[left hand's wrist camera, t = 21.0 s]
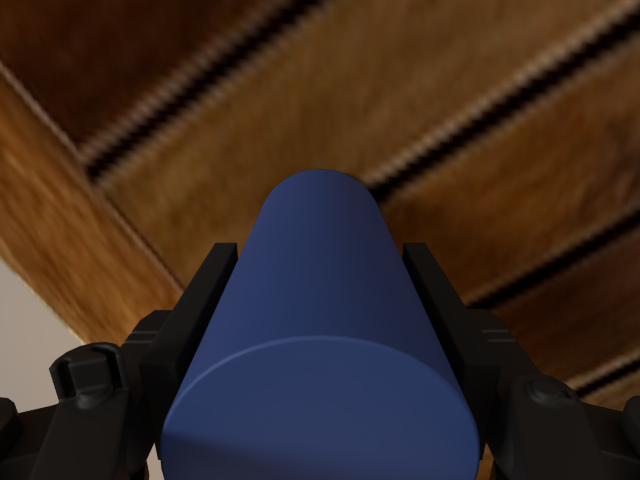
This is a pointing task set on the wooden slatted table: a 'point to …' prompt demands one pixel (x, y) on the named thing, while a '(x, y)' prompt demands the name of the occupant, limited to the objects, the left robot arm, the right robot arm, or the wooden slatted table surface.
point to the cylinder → (320, 356)
